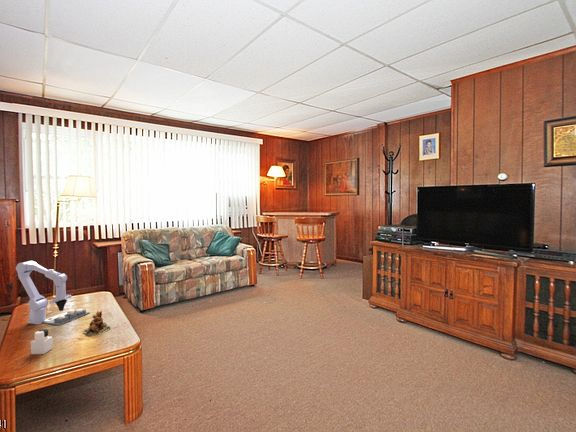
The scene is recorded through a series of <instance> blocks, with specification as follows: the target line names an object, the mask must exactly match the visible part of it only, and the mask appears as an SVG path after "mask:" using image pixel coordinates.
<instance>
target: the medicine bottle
mask: <svg viewBox="0 0 576 432" xmlns="http://www.w3.org/2000/svg"><path fill="white" fill-rule="evenodd" d="M52 349H53V336H49V329H45V328H43V329H39V330H37V331H36V330H35V332H34V339H33V340H31V341H30V354H31V355H45V354H47V352H49V351H50V350H52Z"/></svg>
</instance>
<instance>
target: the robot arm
mask: <svg viewBox="0 0 576 432" xmlns="http://www.w3.org/2000/svg"><path fill="white" fill-rule="evenodd" d="M15 271H16V272H17V277H18V279H19V281H20V282H21V284H22V286H23V288H24V290H25V292H26V294H27V295H28V297H29V300H28V302H27V303H28V306H29V309H30V311H29V314H28V322H27V324H30V325H31V324H32V325H41V324H43V323H42V322H43V321H44V320H46V319H47V313H46V312H47V310H46V309H47V306H48V305H49V304H51V305H52V304H55V305H56V306H57V308H58V311H59V312H62V311H63V312H64V308H65V305H66V304H67V301H68V300H67V299H71V298H72V294H67V292H66V291H67V285H66V284H67V283H66V282H67V280H68V275H67V274H65V272H64V273H61V272H58V271H55V269H51V268H50V269H47V268H45V267H44V266H42V265H41V264H38V263H37V261H34V260H28V261H24V262H18V263H17V264H16V267H15ZM32 271H35V272H38V273H41V274H44V277H45V278H48V279H49V280H52V281H53V283H54V286H55V298H53V299H51V300H49V301H48V299H47V298H45V296H43V295H42V294H40V293H39V291H38V289H37V287H36V285H35V284H34V282H33V280H32V277H31V276H30V275H31V273H32Z"/></svg>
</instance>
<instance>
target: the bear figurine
mask: <svg viewBox="0 0 576 432" xmlns="http://www.w3.org/2000/svg"><path fill="white" fill-rule="evenodd" d="M92 318H93V319H92V320H91V322H90V323H89V326H88V328H85V329H84V330H83V332H82V333H84V334H85V335H87V336H89V337H91V336H96V335H100V334H103V333H106V332H107V331H109V330H110V329H112V328H111V326H110V325H108V324H107V323H106V322H104V321H103V320H104V319H103V314H102V311H101V310H100V311H97V312H96V313H94V314H93V315H92Z"/></svg>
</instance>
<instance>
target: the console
mask: <svg viewBox="0 0 576 432" xmlns="http://www.w3.org/2000/svg"><path fill="white" fill-rule="evenodd" d="M73 310H74V309H73ZM62 315H64V316H65V318H62V319H58V316H62ZM86 315H90V312H89V311H87V310H86V309H83V311H81V312H76V310H74V314H73V315H67V311H63V312H62V313H59V314H55V315H53V316H50V317H46V320H44V321H43V322H42V323H41V324H44V325H53V326H61V325H64V324H66V323H69V322H72V321H74V320H76V319H79V318H82V317H84V316H86Z"/></svg>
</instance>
